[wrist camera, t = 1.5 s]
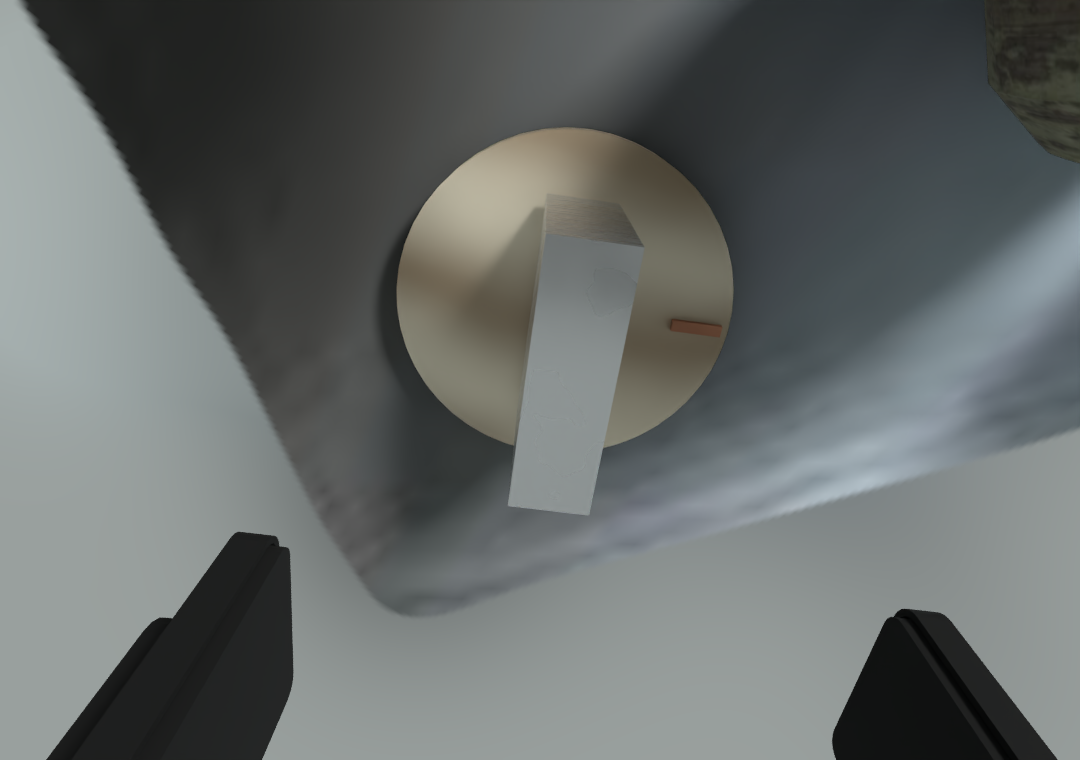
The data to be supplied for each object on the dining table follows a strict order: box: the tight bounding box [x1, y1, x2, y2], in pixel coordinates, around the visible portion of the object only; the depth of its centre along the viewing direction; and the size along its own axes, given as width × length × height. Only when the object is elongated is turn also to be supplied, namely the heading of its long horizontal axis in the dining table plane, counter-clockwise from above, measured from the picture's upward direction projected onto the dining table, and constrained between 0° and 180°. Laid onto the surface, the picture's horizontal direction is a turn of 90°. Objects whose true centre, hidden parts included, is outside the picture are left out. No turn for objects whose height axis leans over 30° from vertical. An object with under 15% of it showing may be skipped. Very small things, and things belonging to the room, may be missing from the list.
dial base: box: [397, 127, 734, 448], centre depth 23 cm, size 12×12×2 cm
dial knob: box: [508, 193, 645, 516], centre depth 20 cm, size 10×2×6 cm, turn 172°
